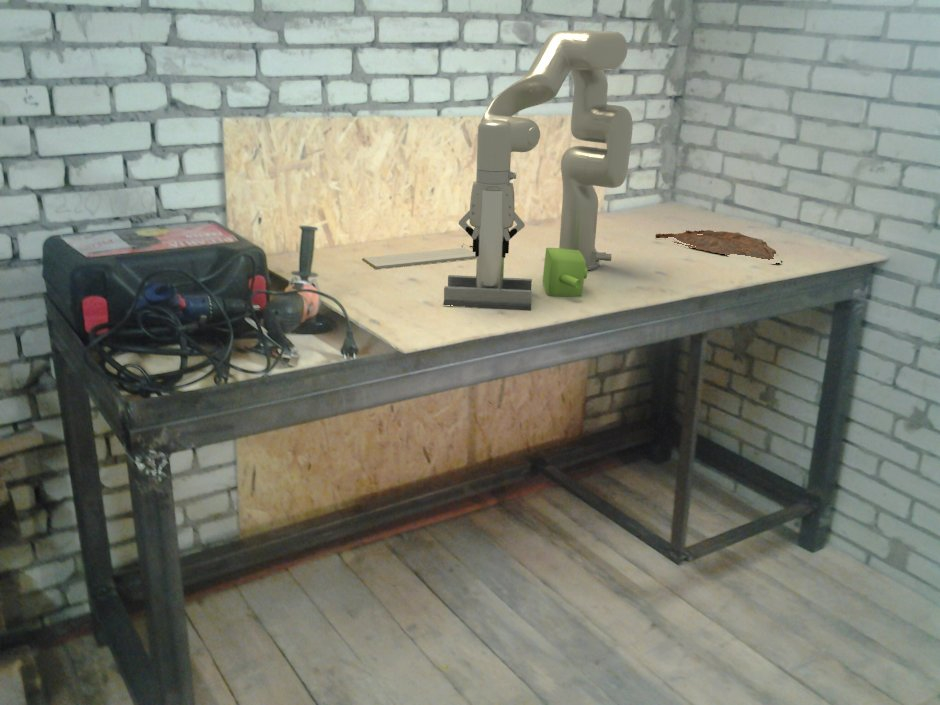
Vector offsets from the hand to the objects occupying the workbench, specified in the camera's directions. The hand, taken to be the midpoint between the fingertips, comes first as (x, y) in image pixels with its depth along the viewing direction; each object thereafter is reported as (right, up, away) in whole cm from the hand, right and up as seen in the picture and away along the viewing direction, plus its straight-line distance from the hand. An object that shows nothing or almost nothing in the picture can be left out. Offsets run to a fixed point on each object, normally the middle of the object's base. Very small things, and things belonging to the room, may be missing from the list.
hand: (490, 254), depth 202 cm
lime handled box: (+19, -8, +12) cm, 24 cm away
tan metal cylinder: (0, -8, +3) cm, 9 cm away
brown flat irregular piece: (+74, +8, +59) cm, 96 cm away
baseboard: (-18, +2, +37) cm, 42 cm away
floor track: (0, -10, +4) cm, 11 cm away
